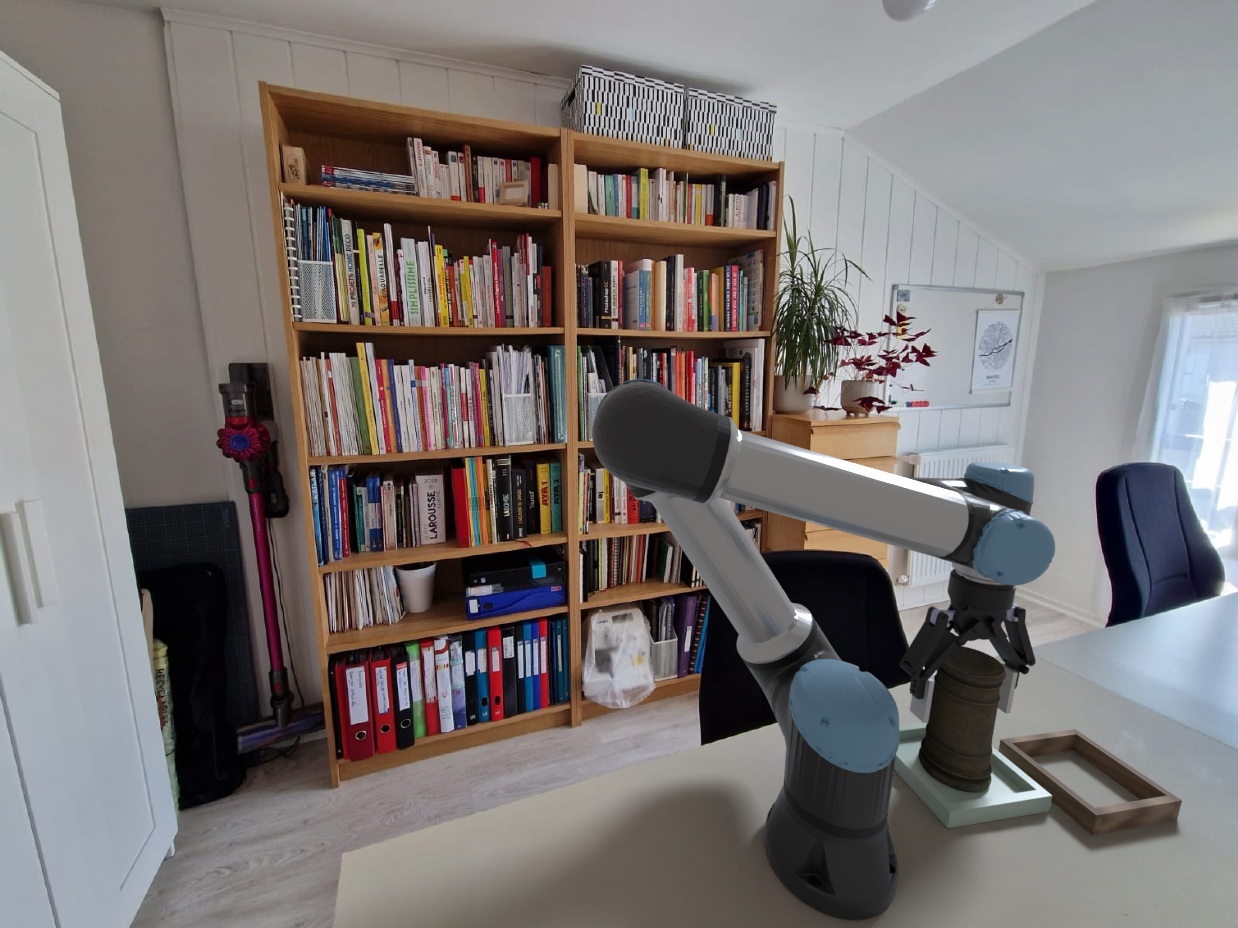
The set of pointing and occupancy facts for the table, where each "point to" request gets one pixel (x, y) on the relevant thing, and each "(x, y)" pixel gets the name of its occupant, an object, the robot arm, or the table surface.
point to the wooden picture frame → (1106, 818)
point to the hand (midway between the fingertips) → (959, 712)
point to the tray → (959, 808)
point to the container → (963, 720)
